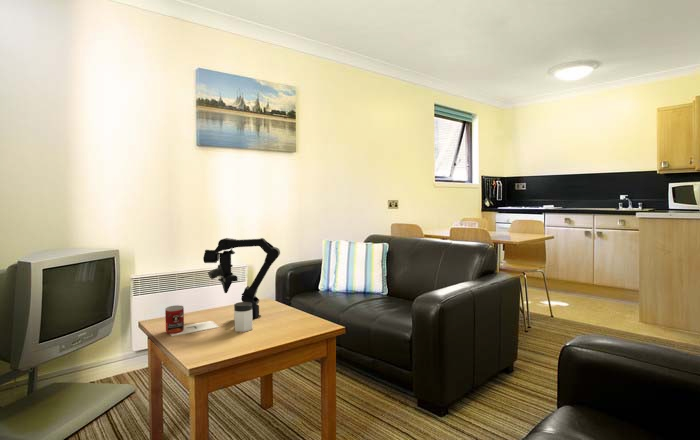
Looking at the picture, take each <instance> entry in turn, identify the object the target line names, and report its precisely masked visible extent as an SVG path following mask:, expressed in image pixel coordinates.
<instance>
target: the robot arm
mask: <svg viewBox="0 0 700 440" xmlns="http://www.w3.org/2000/svg"><path fill="white" fill-rule="evenodd" d="M247 247H250V248H251V247H260V248H261V250H263V252H264V253H265V254H266V256H265V259H264V262H263V264H262V266H261V267H260V269H259V271H258V272H257V275H256V276H255V277H254V280H253V282H252V283H251V284H250V285H247V286H246V287H245V288H244V290H243V292H242V293H241V299H240V300H241V302H251V303H252V316H253V318H252V319H253V320H255V319H257V318H260V317H262V315H260V305H258V304H259V302H260V299H259V298H258V297H257V296H256V295H257V293H258V289H259V287H260V285H261V284H262V281H263V280H264V278H265V276H266V274H267V273H268V272H269V270H270V268H271V267H272V265H273V264H274V263H275V261H276V260H277V259H278V257H280V255H281V249H280V248H278V247H276V246H273V245H272V244H271V243H270V242H269V241H267V240H266V239H265V238H263V237H260V238H248V239H236V238H228V237H226V238H222V239H220V240H219V241H218V242H217V246H216V248H215V249H205V250H204V253H203V262H204V263H205V264H217V263H218V262H219V264H218V265H217V268H215V269H211V270H210V271H208V272H207V275H208V277H209V279H211V280H214V279H216V278H218V279H217V280H218V281H219V282H220V283H221V285H222V289H223V292H224V294H227V293H228V292H229V290H230V287H231V285H232V284H233V282H238V280H239V279H238V276H237V275H235V274H234V273H233V272H232V268H234V267H233V266H234V265H233V264H232V255H234V254H236V252H235V251H234V250H233V249H236V248H247Z"/></svg>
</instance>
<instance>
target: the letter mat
mask: <svg viewBox="0 0 700 440" xmlns="http://www.w3.org/2000/svg"><path fill="white" fill-rule="evenodd" d="M218 328H220V326H219V325H218V324H216V322H214V321H213V320H208V321H202V322H197V323H192V324H190V323H189V324H186V325H185V324H184V330H183V331H182V332H180V333H175V334H169V335H170V336H171V337H176V336H182V335H186V334H192V333H197V332H201V331H203V332H204V331H207V330H211V329H212V330H213V329H218Z"/></svg>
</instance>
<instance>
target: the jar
mask: <svg viewBox="0 0 700 440" xmlns="http://www.w3.org/2000/svg"><path fill="white" fill-rule="evenodd" d="M233 308H234V309H233V313H234V314H233V320H234V332H238V333H241V332H242V333H246V332H249V331H252V330H253V329H254V327H253V324H254V323H253V320H254V319H252V318H253V316H252V303H251V302H242V301H240V302H236V303H234V305H233Z"/></svg>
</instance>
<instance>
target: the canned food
mask: <svg viewBox="0 0 700 440" xmlns="http://www.w3.org/2000/svg"><path fill="white" fill-rule="evenodd" d="M164 310H165V313H164V314H165V332H166V333H167V334H169V335H170V334H175V333H180V332H182V331H183V330H184V326H185V319H184V318H185V316H184V315H185V314H184V313H185V312H184V311H185V310H184V305H179V304H177V305H170V306H167V307H165V309H164Z"/></svg>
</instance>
